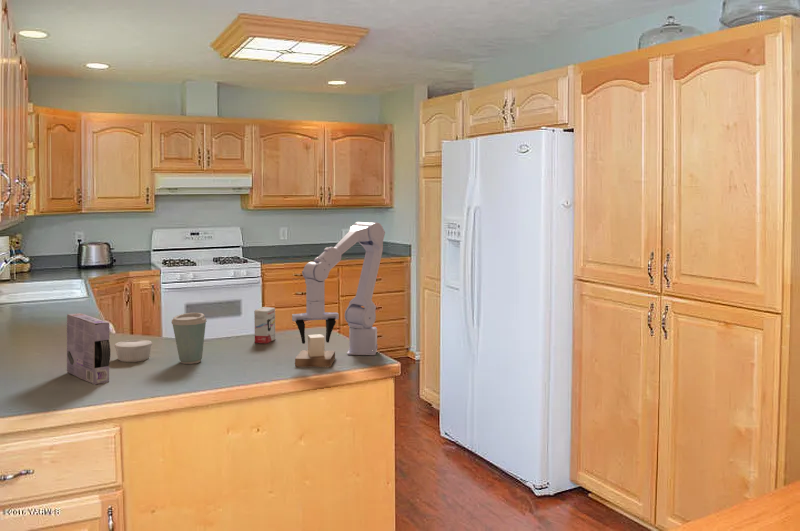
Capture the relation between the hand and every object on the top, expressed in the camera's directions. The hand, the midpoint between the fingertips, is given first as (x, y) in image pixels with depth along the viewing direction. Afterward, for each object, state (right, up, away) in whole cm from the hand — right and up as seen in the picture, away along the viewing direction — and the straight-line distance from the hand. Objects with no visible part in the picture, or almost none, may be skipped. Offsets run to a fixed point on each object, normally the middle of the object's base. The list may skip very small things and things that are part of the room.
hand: (315, 342), depth 222 cm
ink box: (-22, -3, +30) cm, 37 cm away
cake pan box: (-63, -8, -20) cm, 67 cm away
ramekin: (-59, -6, +3) cm, 59 cm away
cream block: (0, -4, +1) cm, 4 cm away
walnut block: (0, -7, +1) cm, 7 cm away
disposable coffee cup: (-40, -6, 0) cm, 40 cm away
